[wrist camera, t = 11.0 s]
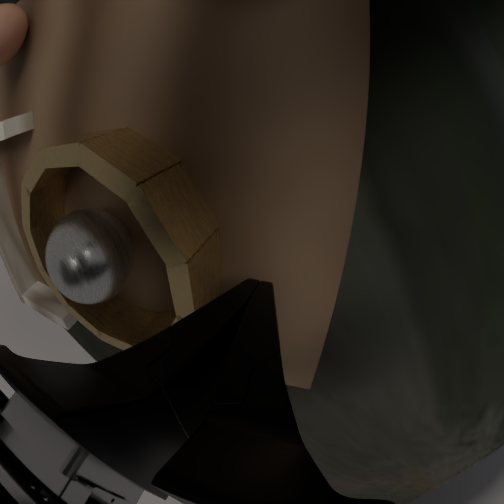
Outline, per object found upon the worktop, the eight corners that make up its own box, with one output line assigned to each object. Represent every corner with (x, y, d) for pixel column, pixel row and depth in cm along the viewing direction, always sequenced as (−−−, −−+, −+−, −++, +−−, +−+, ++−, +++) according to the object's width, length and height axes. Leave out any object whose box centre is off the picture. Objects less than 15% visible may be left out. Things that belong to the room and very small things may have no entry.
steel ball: (148, 201, 11) (65, 238, 7) (158, 287, 12) (95, 337, 9) (91, 192, 12) (21, 221, 9) (103, 265, 14) (45, 302, 10)
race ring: (216, 122, 8) (175, 135, 6) (227, 342, 14) (207, 382, 12) (43, 140, 11) (5, 156, 9) (85, 295, 16) (61, 319, 14)
